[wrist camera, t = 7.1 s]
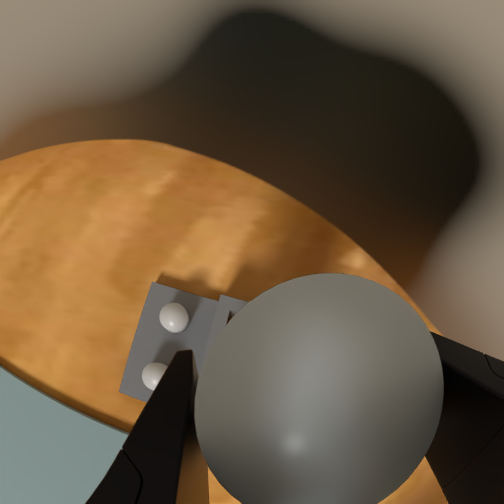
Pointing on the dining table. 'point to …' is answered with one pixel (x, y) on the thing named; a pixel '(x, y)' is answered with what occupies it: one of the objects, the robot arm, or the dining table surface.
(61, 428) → the rubber mat
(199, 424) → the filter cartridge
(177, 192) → the dining table surface
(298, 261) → the dining table surface
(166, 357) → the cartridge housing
